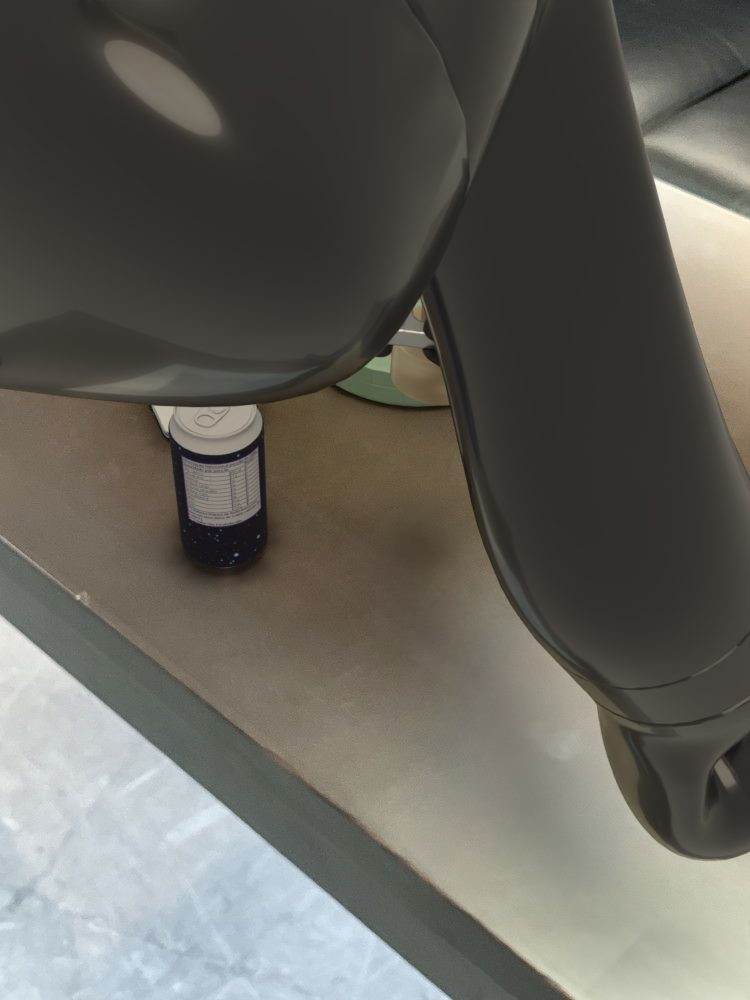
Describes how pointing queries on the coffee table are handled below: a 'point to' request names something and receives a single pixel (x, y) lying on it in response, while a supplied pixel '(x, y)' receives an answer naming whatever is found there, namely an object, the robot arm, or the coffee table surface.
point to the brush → (417, 372)
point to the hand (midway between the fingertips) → (433, 211)
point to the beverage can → (220, 482)
